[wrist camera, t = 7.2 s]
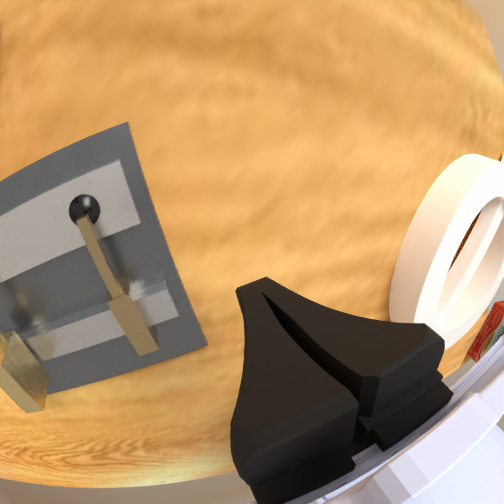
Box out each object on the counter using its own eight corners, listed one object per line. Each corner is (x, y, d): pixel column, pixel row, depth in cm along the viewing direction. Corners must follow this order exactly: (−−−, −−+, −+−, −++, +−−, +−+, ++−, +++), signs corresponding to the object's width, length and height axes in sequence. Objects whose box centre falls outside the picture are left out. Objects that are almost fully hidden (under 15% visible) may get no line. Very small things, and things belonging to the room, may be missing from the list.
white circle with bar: (504, 146, 31) (528, 154, 26) (479, 292, 44) (496, 304, 40) (393, 169, 24) (432, 182, 20) (375, 366, 38) (394, 387, 34)
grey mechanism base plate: (205, 339, 25) (215, 365, 22) (40, 390, 21) (36, 415, 18) (128, 121, 16) (124, 121, 13) (-64, 227, 12) (-85, 243, 9)
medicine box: (477, 347, 59) (495, 364, 52) (465, 353, 56) (485, 371, 49) (503, 298, 54) (524, 314, 47) (494, 301, 50) (517, 318, 44)
